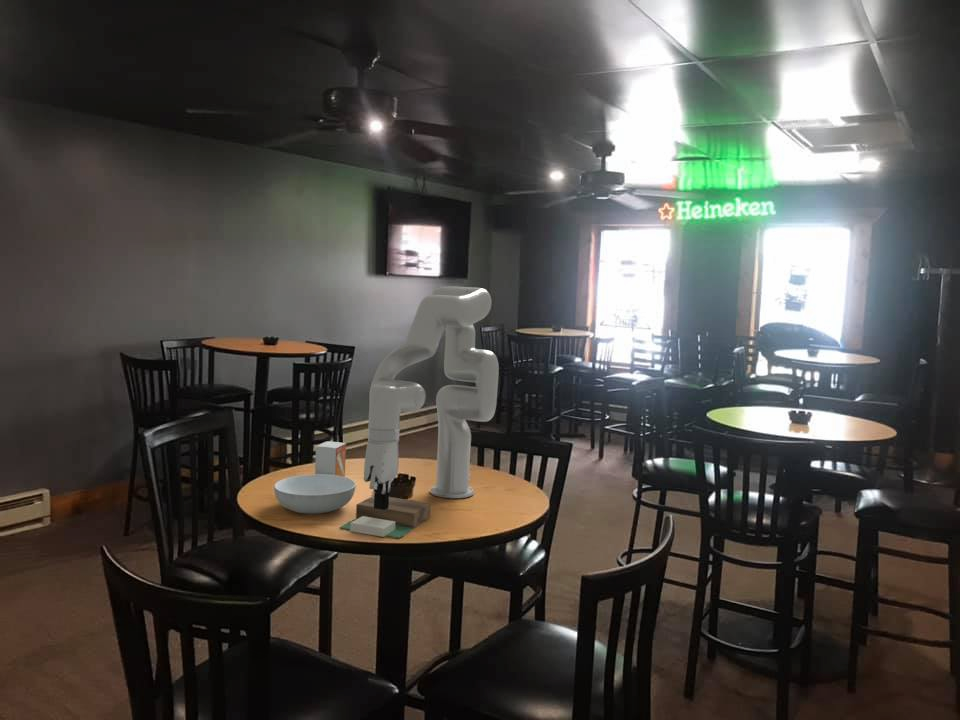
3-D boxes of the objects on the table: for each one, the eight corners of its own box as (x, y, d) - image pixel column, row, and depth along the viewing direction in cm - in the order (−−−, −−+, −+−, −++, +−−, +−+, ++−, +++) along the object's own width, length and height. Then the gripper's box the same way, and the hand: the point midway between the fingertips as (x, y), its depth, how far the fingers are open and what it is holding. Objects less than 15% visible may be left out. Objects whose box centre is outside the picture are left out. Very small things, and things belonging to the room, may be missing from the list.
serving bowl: (305, 494, 209) (305, 470, 208) (369, 505, 201) (370, 480, 200) (256, 513, 190) (256, 486, 189) (325, 526, 182) (326, 499, 181)
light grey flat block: (350, 522, 178) (350, 530, 178) (383, 528, 175) (383, 536, 175) (362, 516, 183) (362, 524, 183) (395, 521, 180) (395, 529, 180)
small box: (334, 493, 211) (336, 448, 210) (313, 491, 212) (315, 446, 211) (345, 486, 219) (346, 442, 218) (325, 484, 220) (326, 440, 219)
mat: (355, 520, 188) (355, 518, 188) (413, 529, 182) (413, 528, 182) (339, 528, 180) (339, 527, 180) (399, 539, 175) (399, 537, 175)
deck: (374, 509, 197) (375, 494, 197) (429, 518, 192) (430, 503, 191) (356, 519, 188) (356, 504, 187) (413, 529, 182) (414, 513, 182)
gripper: (384, 428, 189) (381, 498, 191) (354, 438, 175) (352, 514, 177) (410, 431, 187) (408, 502, 189) (383, 441, 173) (380, 518, 175)
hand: (381, 508), depth 183 cm, fingers closed
